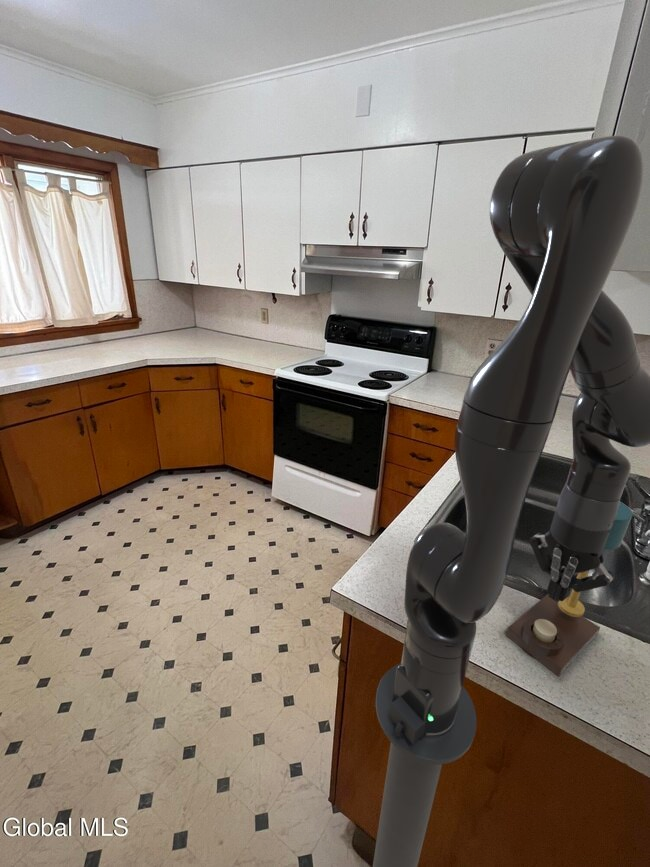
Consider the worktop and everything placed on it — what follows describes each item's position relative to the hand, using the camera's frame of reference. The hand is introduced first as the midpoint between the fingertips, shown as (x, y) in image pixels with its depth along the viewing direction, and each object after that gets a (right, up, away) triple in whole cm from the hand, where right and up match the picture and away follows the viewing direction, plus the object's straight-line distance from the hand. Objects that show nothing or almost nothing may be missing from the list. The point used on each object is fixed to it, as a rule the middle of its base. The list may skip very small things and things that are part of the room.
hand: (556, 597), depth 72 cm
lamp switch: (0, -8, +4) cm, 9 cm away
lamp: (+7, -5, +9) cm, 13 cm away
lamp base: (+3, -10, +8) cm, 13 cm away
